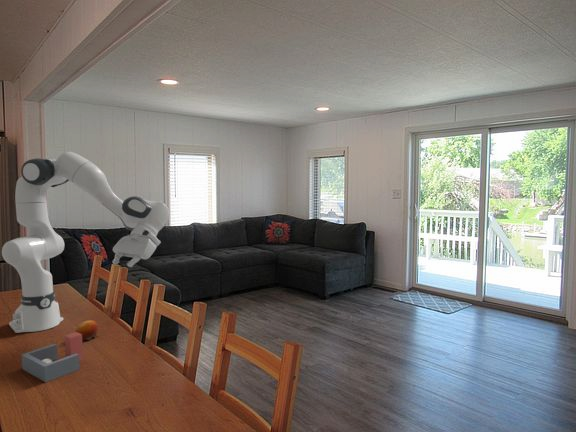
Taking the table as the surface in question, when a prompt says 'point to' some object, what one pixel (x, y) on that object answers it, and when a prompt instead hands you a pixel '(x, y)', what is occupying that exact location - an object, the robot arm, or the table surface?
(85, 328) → the fruit
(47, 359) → the ball
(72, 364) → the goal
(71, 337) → the red tall block
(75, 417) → the table surface
